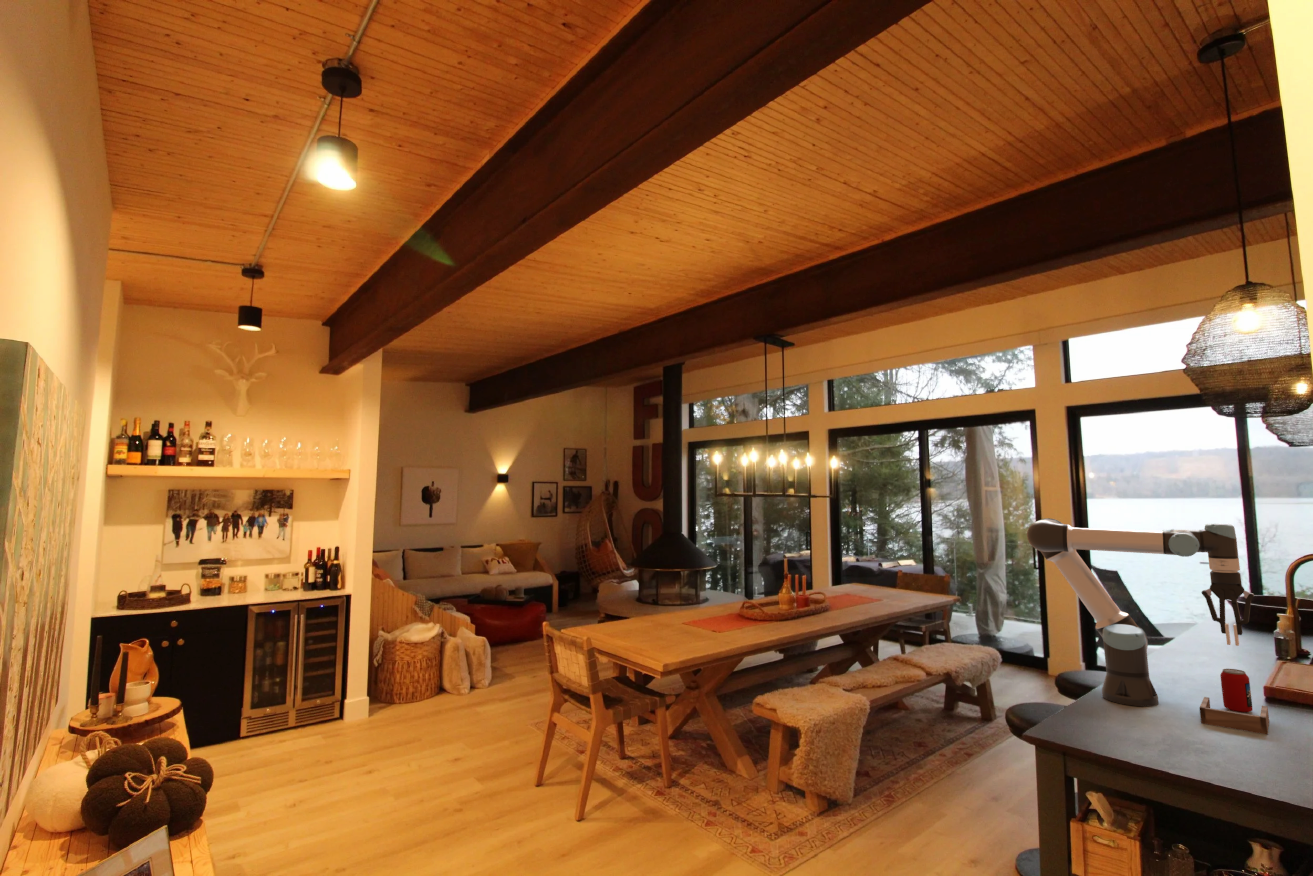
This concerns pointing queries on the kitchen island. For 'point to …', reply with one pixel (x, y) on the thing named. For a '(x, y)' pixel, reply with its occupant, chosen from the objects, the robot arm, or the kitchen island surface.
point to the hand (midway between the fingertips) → (1233, 644)
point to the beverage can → (1236, 690)
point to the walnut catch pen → (1234, 718)
